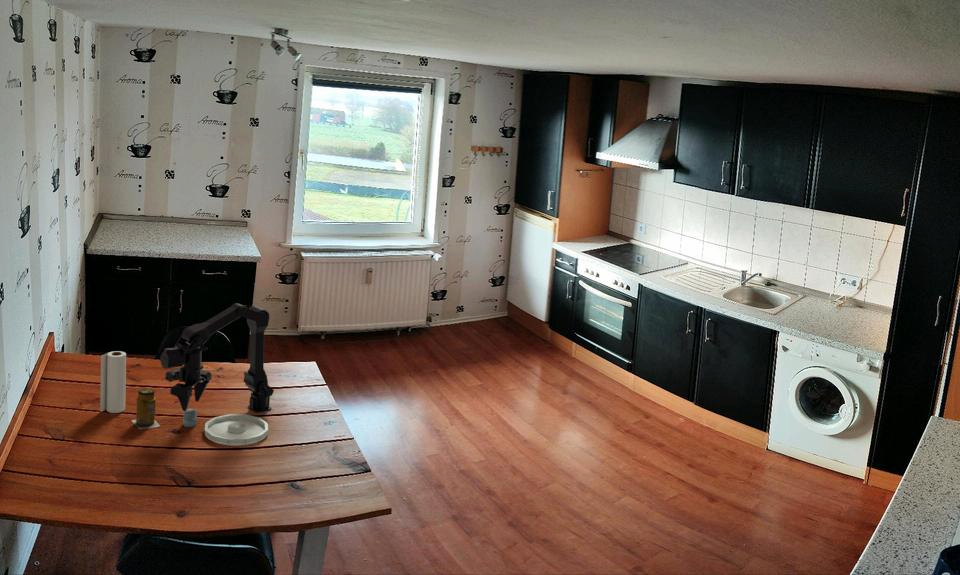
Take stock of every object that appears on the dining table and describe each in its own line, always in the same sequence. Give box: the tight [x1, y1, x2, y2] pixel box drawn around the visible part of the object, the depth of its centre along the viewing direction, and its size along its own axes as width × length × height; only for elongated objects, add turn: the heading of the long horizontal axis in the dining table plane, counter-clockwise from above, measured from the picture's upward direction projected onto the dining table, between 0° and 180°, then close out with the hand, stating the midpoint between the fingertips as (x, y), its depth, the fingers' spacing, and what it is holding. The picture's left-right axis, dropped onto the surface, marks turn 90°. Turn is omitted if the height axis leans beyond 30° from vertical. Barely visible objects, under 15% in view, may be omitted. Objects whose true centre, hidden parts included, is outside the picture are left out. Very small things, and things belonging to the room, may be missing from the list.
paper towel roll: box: [99, 350, 127, 414], centre depth 293 cm, size 7×6×21 cm
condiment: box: [131, 387, 161, 430], centre depth 287 cm, size 7×8×12 cm
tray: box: [204, 413, 269, 447], centre depth 290 cm, size 21×21×2 cm
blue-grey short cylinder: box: [182, 408, 198, 428], centre depth 291 cm, size 4×4×5 cm
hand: (190, 405), depth 290 cm, fingers open, 9 cm apart
